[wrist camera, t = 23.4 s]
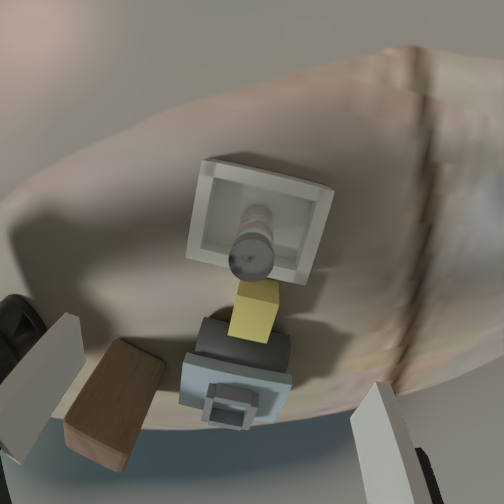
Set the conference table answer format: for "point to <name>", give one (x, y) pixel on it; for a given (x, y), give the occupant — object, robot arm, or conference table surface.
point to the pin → (253, 245)
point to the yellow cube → (255, 310)
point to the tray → (265, 193)
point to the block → (113, 405)
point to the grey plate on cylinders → (235, 377)
